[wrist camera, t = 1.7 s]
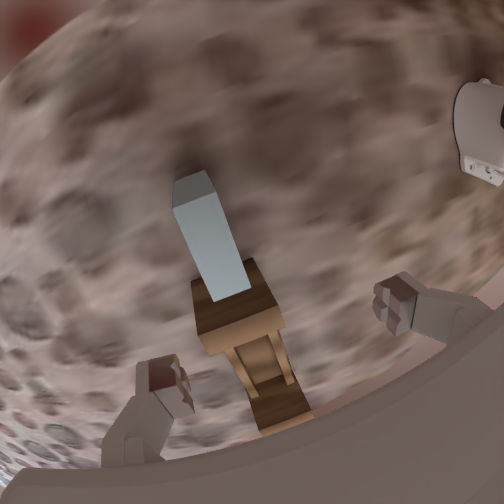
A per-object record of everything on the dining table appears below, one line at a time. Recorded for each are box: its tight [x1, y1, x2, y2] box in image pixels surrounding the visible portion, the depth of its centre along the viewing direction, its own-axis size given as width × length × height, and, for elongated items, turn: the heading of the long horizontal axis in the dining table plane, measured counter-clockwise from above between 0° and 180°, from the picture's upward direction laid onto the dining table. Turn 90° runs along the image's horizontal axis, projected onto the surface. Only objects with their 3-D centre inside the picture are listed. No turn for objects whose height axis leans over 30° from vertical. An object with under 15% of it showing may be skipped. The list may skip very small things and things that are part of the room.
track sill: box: [191, 258, 314, 437], centre depth 37 cm, size 24×8×10 cm, turn 17°
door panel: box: [172, 170, 251, 302], centre depth 28 cm, size 9×4×10 cm, turn 17°
